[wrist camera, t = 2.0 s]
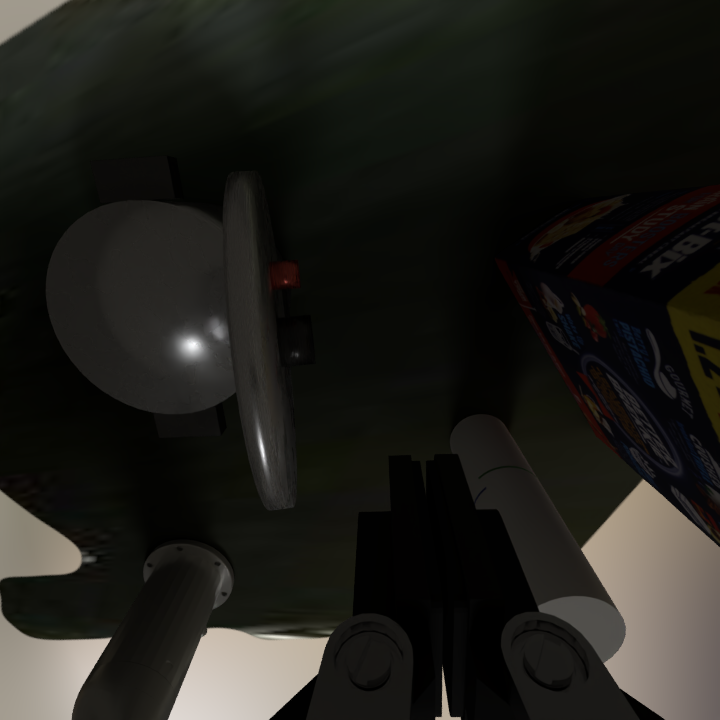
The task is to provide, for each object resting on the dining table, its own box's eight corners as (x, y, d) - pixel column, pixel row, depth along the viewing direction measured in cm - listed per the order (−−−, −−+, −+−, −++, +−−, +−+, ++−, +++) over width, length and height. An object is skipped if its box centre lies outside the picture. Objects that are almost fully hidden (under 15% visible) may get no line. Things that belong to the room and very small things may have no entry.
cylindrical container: (438, 449, 52) (492, 649, 28) (471, 404, 49) (559, 579, 26) (486, 474, 53) (578, 687, 29) (520, 430, 50) (649, 623, 27)
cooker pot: (315, 386, 49) (298, 439, 38) (154, 393, 50) (90, 446, 39) (292, 163, 41) (262, 146, 30) (100, 176, 42) (1, 164, 31)
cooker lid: (283, 415, 37) (319, 410, 38) (271, 597, 19) (339, 586, 20) (252, 184, 31) (295, 182, 31) (192, 143, 13) (295, 139, 13)
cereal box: (684, 392, 48) (1227, 680, 18) (594, 441, 50) (945, 773, 20) (585, 189, 42) (1182, 101, 11) (486, 255, 44) (766, 332, 13)
